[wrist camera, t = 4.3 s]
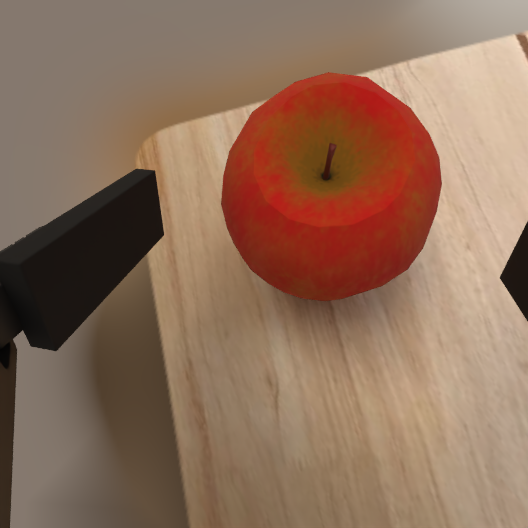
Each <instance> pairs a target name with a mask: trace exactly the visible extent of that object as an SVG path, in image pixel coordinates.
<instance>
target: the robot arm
mask: <svg viewBox="0 0 528 528" xmlns="http://www.w3.org/2000/svg"><path fill="white" fill-rule="evenodd" d="M163 236H164V230H163V223H162V216H161V209H160V202H159V195H158V188H157V181H156V174H155V171H154V170H144V169H135V170H133V171H132V172H130V173H129V174H127V175H125V176H124V177H122V178H120V179H119V180H117V181H116V182H114V183H112V184H111V185H109V186H108V187H106V188H104V189H103V190H101V191H100V192H98V193H96V194H95V195H93V196H91V197H90V198H88V199H87V200H85V201H83V202H82V203H80V204H79V205H77V206H75V207H74V208H72V209H71V210H69V211H67V212H66V213H64V214H63V215H61V216H59V217H58V218H56V219H54V220H53V221H51V222H50V223H48V224H47V225H45V226H42V227H39V228H38V229H36V230H34V231H33V232H32V233H30V234H28V235H26V237H25V238H21V239H20V240H18V241H17V242H15V244H14V245H10V246H8V247H7V248H5V249H4V250H2V251H0V528H10V511H11V485H12V462H13V436H14V413H15V387H16V362H17V349H16V345H15V343H14V341H13V338H14V337H16V336H17V334H19V333H20V332H21V331H22V330H23V331H24V333H25V335H26V337H27V339H28V341H29V344H30V346H32V347H37V348H42V349H48V350H53V351H57V350H58V349H59V348H60V347H61V346H62V344H63V343H64V342H65V341H66V340H67V339H68V338H69V337H70V336H71V335H72V334H73V333H74V331H75V330H76V329H77V328H78V327H79V326H80V325H81V324H82V323H83V322H84V321H85V320H86V318H87V317H88V316H89V315H90V314H91V313H92V312H93V311H94V310H95V309H96V308H97V307H98V306H99V305H100V303H101V302H102V301H103V300H104V299H105V298H106V297H107V296H108V295H109V294H110V293H111V291H112V290H113V289H114V288H115V287H116V286H117V285H118V284H119V283H120V282H121V281H122V280H123V279H124V277H126V275H127V274H128V273H129V272H130V271H131V270H132V269H133V268H134V267H135V266H136V265H137V264H138V262H139V261H140V260H141V259H142V258H143V257H144V256H145V255H146V254H147V253H148V252H149V251H150V250H151V248H152V247H153V246H154V245H155V244H156V243H157V242H158V241H159V240H160V239H161V238H162V237H163ZM500 279H501V281H502V282H503V284H504V285H505V287H506V288H507V290H508V291H509V293H510V295H511V296H512V298H513V299H514V301H515V302H516V304H517V305H518V307H519V309H520V310H521V312H522V313H523V315H524V316H525V318H526V319H527V321H528V222H527V224H526V226H525V228H524V230H523V232H522V234H521V236H520V238H519V240H518V242H517V244H516V246H515V248H514V250H513V252H512V254H511V256H510V258H509V260H508V262H507V264H506V266H505V268H504V270H503V272H502V274H501V276H500Z"/></svg>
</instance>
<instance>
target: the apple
mask: <svg viewBox="0 0 528 528" xmlns="http://www.w3.org/2000/svg"><path fill="white" fill-rule="evenodd" d="M441 186H442V181H441V171H440V161H439V156H438V154H437V151H436V149H435V146H434V144H433V142H432V139H431V137H430V135H429V133H428V132H427V130H426V129H425V127H424V126H423V125H422V123H421V122H420V121H419V119H418V118H417V116H416V115H415V114H414V112H413V111H412V110H411V108H410V107H408V106H407V105H405V104H404V103H403V102H401V101H400V100H398V99H397V98H396V97H394V96H393V95H391V94H390V93H388V92H387V91H386V90H384V89H383V88H381V87H380V86H379V85H377V84H376V83H374V82H373V81H372V80H370V79H369V78H367V77H361V76H353V75H345V74H337V73H329V72H328V73H325V74H321V75H318V76H315V77H311V78H307V79H304V80H300V81H297V82H295V83H293V84H292V85H290V86H289V87H287V88H285V89H284V90H282V91H281V92H279V93H278V94H276V95H275V96H273V97H272V98H271V99H269V100H268V101H267V102H265V103H264V104H263V105H261V106H260V107H259V108H257V109H256V110H255V111H253V112H252V113H251V115H250V117H249V119H248V120H247V122H246V124H245V125H244V127H243V129H242V131H241V132H240V134H239V136H238V137H237V139H236V141H235V142H234V144H233V146H232V148H231V149H230V151H229V155H228V159H227V163H226V167H225V171H224V175H223V188H222V201H221V205H222V209H223V213H224V217H225V221H226V225H227V229H228V231H229V233H230V236H231V238H232V240H233V243H234V245H235V246H236V248H237V249H238V251H239V253H240V254H241V256H242V258H243V259H244V261H245V262H246V263H247V265H248V266H249V268H250V269H251V270H252V271H253V272H255V273H256V274H257V275H258V276H260V277H261V278H262V279H263V280H265V281H266V282H267V283H269V284H270V285H272V286H274V287H276V288H277V289H279V290H281V291H283V292H285V293H288V294H291V295H293V296H296V297H299V298H304V299H312V300H320V301H328V300H338V299H343V298H346V297H349V296H352V295H355V294H359V293H362V292H365V291H368V290H371V289H374V288H377V287H381V286H383V285H384V284H386V283H387V282H389V281H390V280H392V279H393V278H395V277H396V276H398V275H399V274H401V273H402V272H404V271H406V270H407V269H408V268H409V266H410V265H411V264H412V262H413V261H414V260H415V258H416V257H417V256H418V254H419V253H420V252H421V250H422V249H423V247H424V244H425V242H426V239H427V236H428V233H429V231H430V228H431V225H432V223H433V220H434V217H435V215H436V212H437V207H438V201H439V196H440V191H441Z"/></svg>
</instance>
